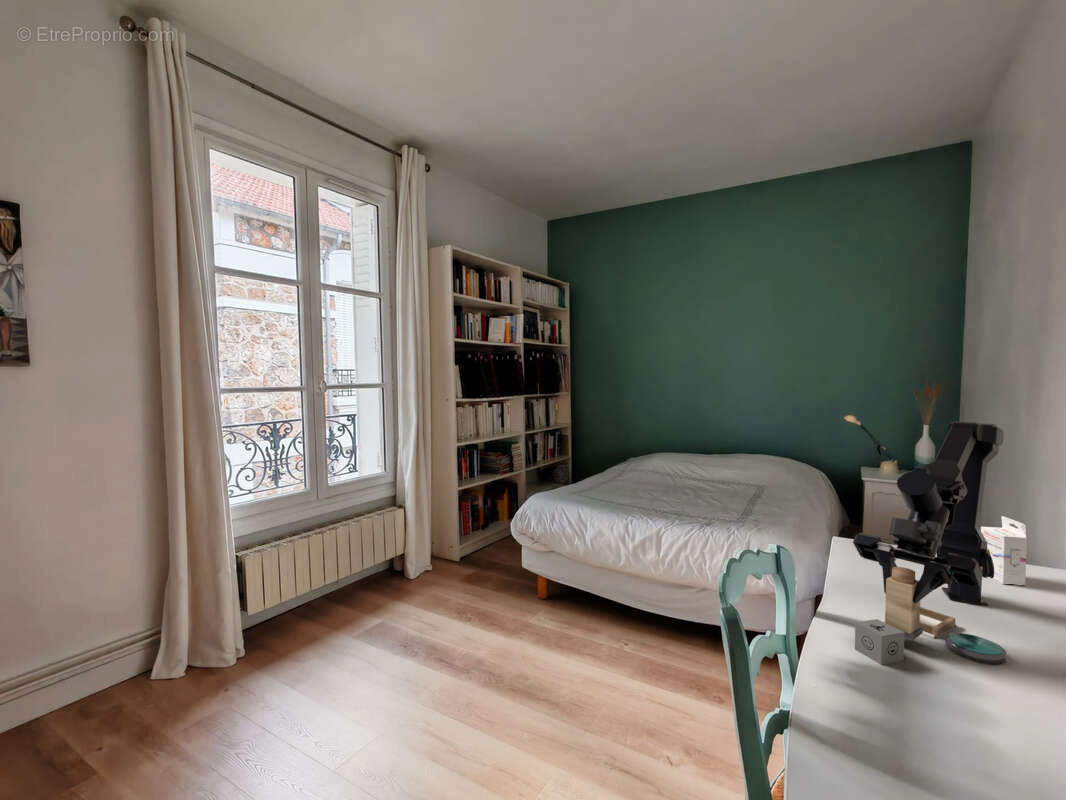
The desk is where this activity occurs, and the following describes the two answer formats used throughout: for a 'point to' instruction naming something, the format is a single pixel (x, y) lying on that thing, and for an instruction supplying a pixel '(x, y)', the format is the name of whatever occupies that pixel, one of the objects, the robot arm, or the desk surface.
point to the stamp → (903, 603)
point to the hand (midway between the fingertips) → (899, 597)
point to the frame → (935, 623)
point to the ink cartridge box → (1007, 551)
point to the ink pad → (976, 648)
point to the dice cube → (879, 641)
